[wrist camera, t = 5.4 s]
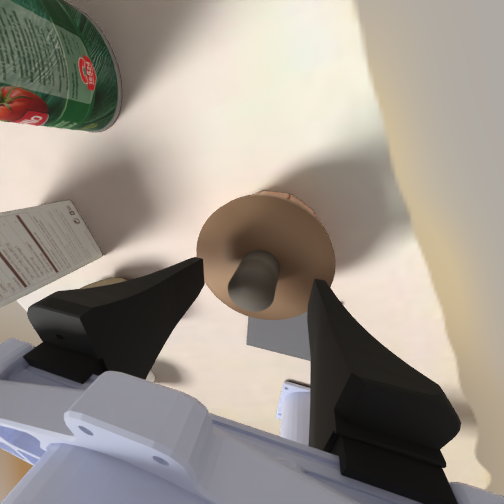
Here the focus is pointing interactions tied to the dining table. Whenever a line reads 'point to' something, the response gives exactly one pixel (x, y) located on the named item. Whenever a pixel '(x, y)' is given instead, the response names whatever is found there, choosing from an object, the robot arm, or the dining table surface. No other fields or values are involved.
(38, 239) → the supplement box
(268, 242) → the walnut lid
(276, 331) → the charcoal mat
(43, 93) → the canned tomato
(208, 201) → the dining table surface
